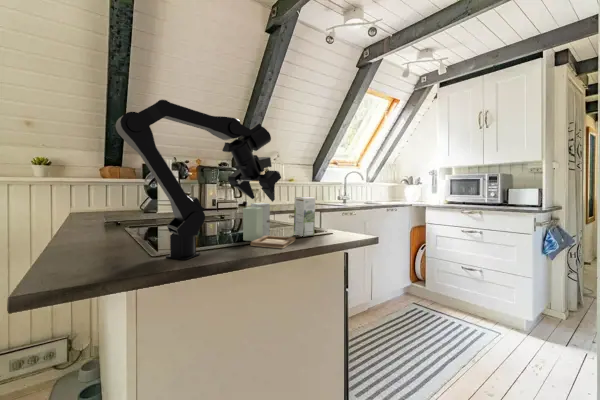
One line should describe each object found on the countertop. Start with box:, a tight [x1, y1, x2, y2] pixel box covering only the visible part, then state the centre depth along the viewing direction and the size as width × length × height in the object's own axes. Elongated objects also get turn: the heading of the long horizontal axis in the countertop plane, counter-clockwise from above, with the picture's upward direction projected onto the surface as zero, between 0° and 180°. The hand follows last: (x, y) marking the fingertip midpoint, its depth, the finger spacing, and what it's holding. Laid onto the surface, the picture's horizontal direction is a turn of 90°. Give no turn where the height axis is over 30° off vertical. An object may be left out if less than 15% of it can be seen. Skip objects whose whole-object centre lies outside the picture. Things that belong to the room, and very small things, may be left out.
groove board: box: [250, 235, 296, 249], centre depth 98 cm, size 12×11×1 cm
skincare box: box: [250, 202, 271, 236], centre depth 110 cm, size 6×4×12 cm
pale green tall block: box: [242, 206, 263, 242], centre depth 103 cm, size 5×5×11 cm
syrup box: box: [293, 196, 316, 238], centre depth 112 cm, size 6×6×14 cm
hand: (263, 199), depth 99 cm, fingers open, 9 cm apart
